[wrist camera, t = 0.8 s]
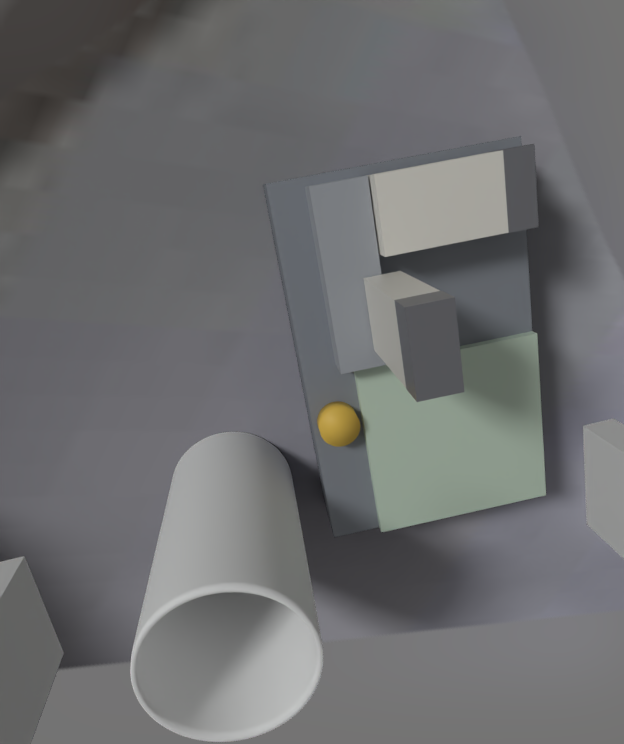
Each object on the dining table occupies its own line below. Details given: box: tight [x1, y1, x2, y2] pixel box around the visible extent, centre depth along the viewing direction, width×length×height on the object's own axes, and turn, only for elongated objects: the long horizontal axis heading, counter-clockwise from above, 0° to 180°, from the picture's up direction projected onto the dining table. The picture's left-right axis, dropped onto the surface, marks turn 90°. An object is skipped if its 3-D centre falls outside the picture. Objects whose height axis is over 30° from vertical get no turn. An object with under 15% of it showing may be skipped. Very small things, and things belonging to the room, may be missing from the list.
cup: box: [130, 432, 323, 742], centre depth 32 cm, size 8×8×16 cm
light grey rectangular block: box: [363, 271, 464, 402], centre depth 27 cm, size 2×4×8 cm, turn 10°
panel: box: [263, 136, 546, 537], centre depth 35 cm, size 14×22×7 cm, turn 10°
